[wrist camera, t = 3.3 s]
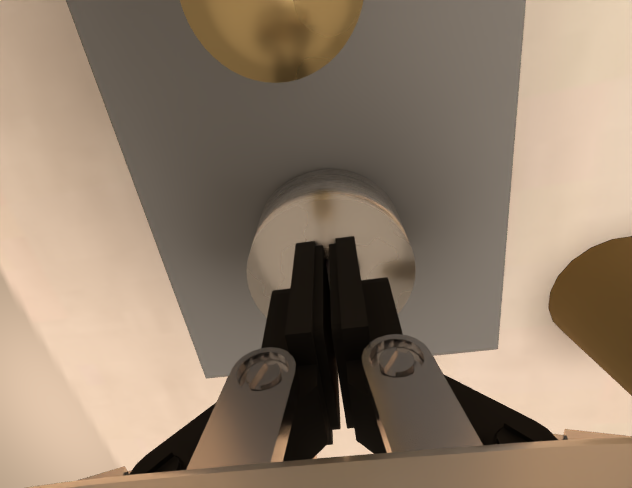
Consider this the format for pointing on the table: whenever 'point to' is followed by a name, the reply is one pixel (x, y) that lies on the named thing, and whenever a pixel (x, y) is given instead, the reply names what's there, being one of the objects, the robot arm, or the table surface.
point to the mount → (320, 153)
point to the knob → (330, 232)
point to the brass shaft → (273, 34)
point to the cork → (599, 306)
